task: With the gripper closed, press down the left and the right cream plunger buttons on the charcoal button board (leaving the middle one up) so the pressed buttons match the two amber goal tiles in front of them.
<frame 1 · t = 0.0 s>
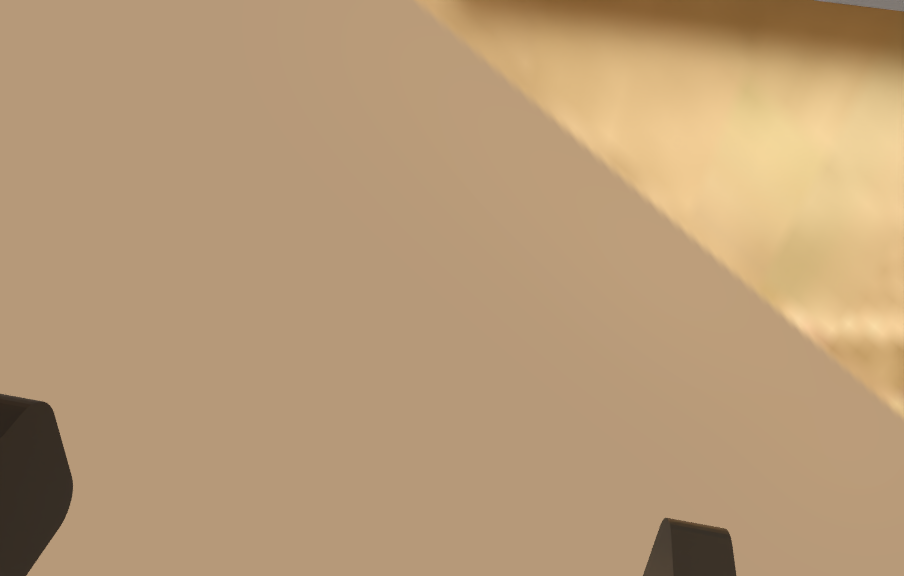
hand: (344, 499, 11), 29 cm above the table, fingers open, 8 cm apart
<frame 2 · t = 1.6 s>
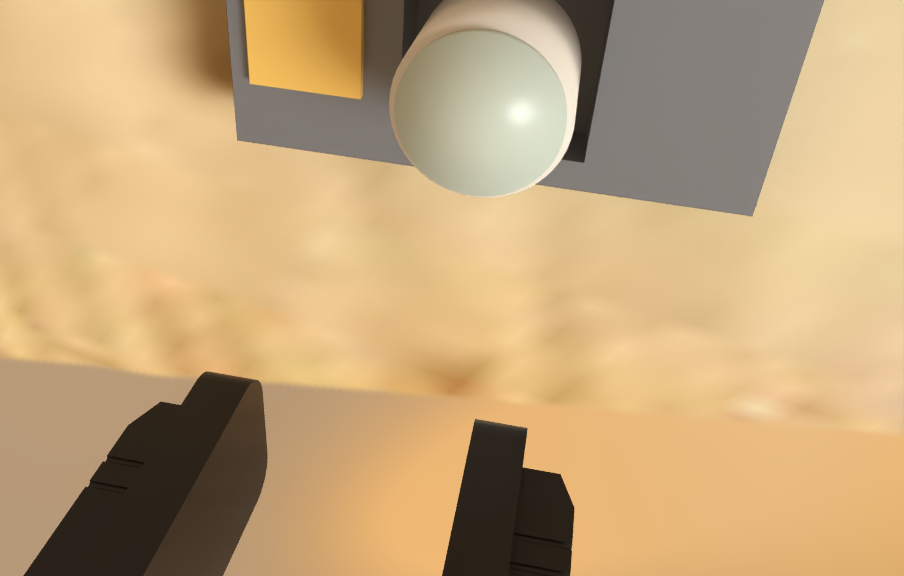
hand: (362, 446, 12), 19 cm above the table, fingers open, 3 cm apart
button C: (489, 88, 23), point 5 cm above the table, slide at 0.0 cm
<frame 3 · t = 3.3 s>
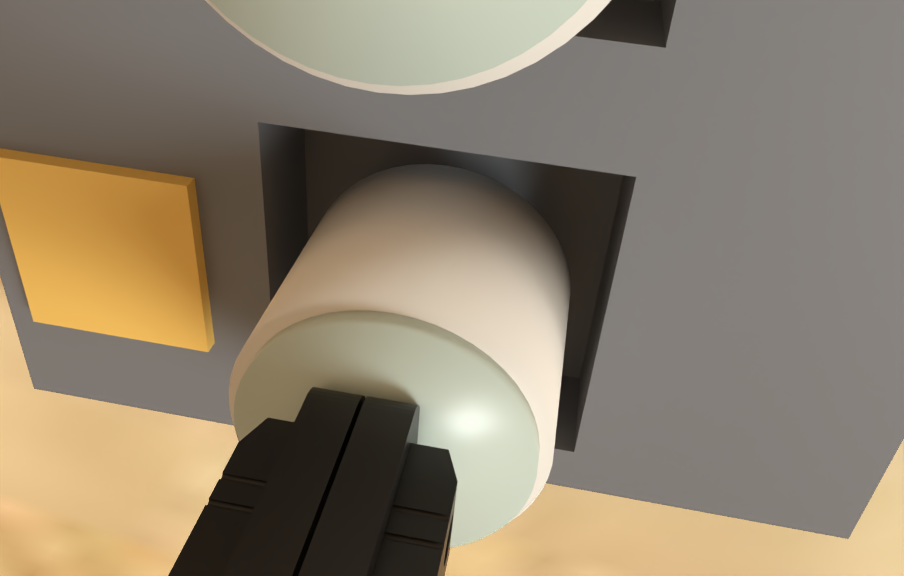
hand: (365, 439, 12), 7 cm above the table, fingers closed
button C: (413, 355, 13), point 4 cm above the table, slide at 1.0 cm, touching gripper
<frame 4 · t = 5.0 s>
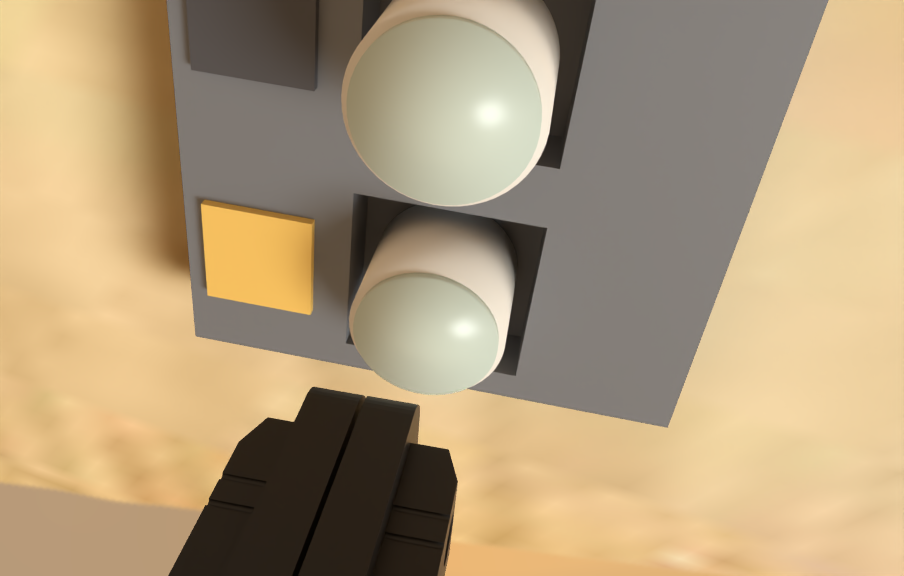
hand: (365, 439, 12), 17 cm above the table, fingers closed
button board: (484, 17, 25), on the table
button C: (436, 299, 26), point 4 cm above the table, slide at 2.0 cm
button B: (456, 84, 20), point 5 cm above the table, slide at 0.0 cm
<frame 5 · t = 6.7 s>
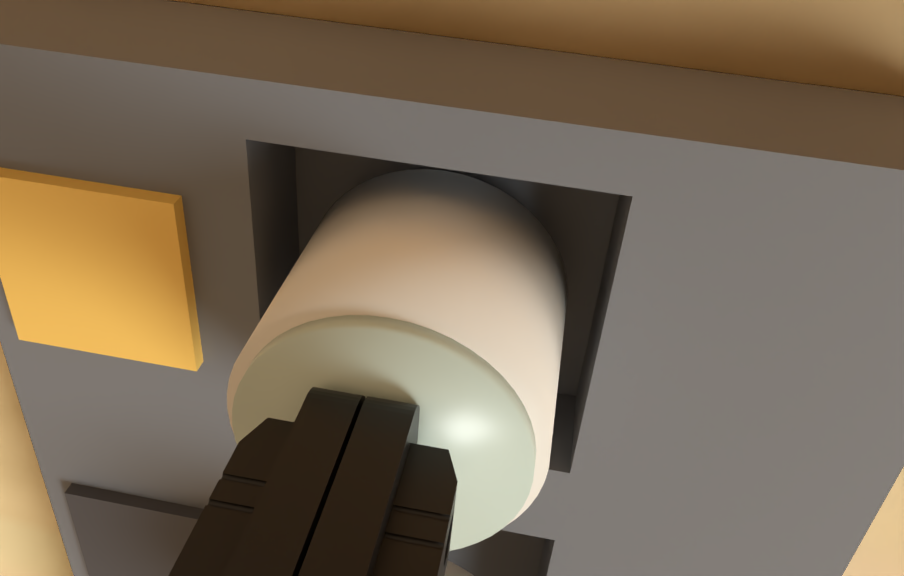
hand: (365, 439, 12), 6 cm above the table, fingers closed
button board: (431, 498, 21), on the table
button A: (411, 359, 13), point 4 cm above the table, slide at 1.5 cm, touching gripper
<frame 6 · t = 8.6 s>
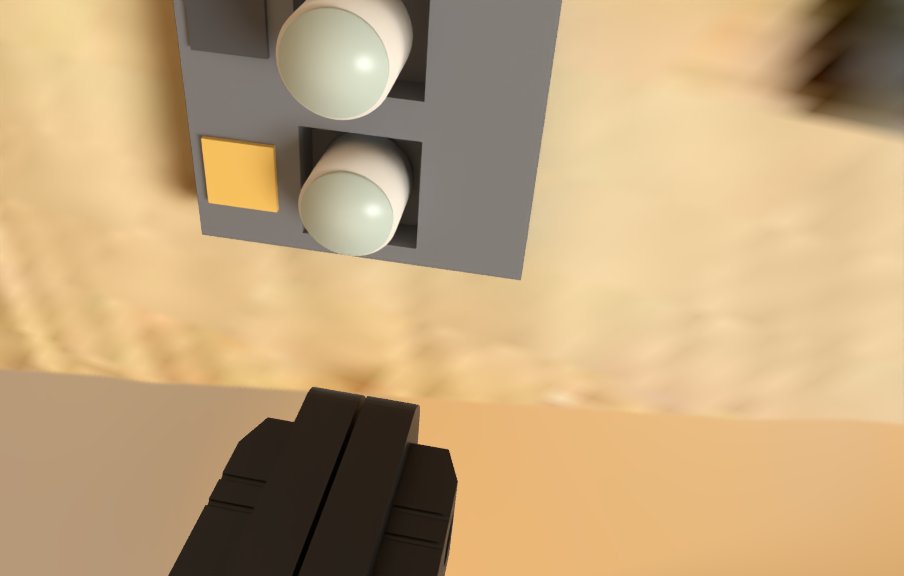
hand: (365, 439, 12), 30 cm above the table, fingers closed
button board: (375, 8, 38), on the table
button C: (356, 194, 40), point 4 cm above the table, slide at 2.0 cm
button B: (346, 47, 34), point 5 cm above the table, slide at 0.0 cm
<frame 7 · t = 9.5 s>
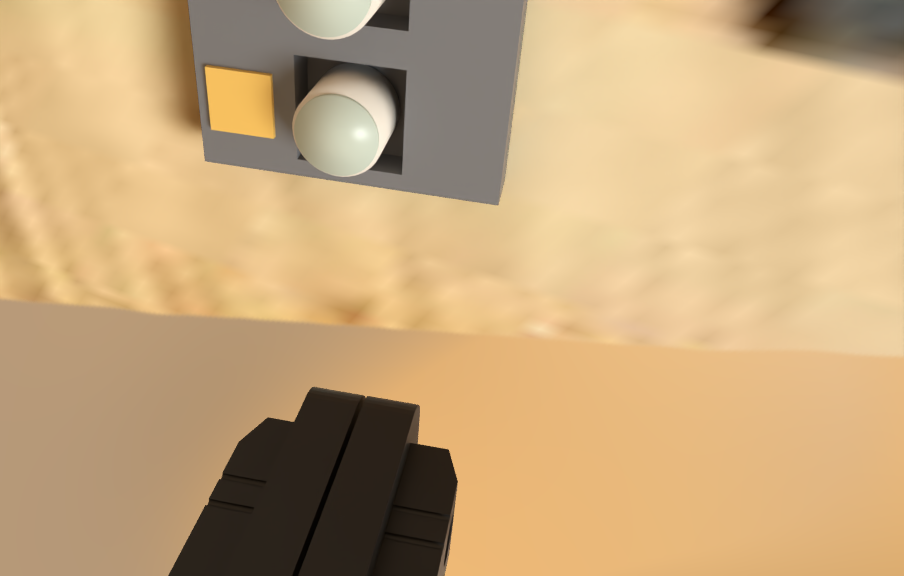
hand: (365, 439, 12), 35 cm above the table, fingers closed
button C: (346, 120, 44), point 4 cm above the table, slide at 2.0 cm
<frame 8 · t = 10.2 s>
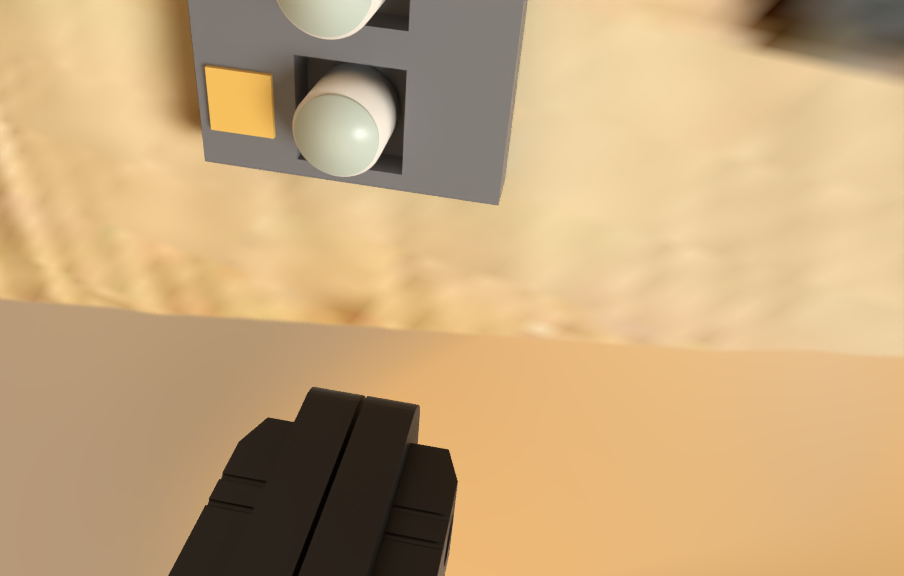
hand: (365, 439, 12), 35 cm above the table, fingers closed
button C: (346, 120, 44), point 4 cm above the table, slide at 2.0 cm
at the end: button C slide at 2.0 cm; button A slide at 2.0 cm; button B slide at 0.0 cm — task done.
